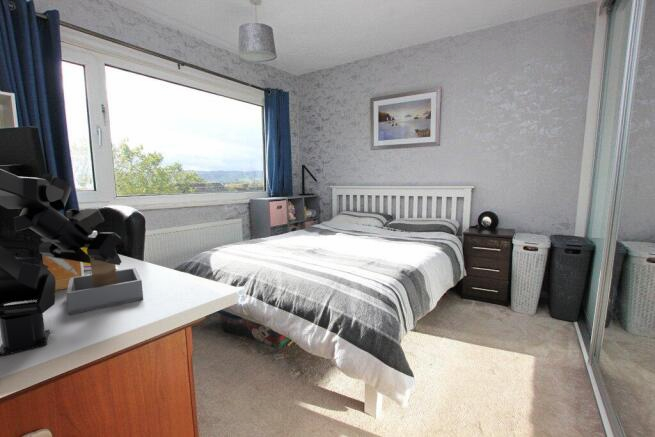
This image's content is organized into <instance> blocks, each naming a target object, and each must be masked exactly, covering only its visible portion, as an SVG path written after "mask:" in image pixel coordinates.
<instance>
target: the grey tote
mask: <svg viewBox="0 0 655 437" xmlns="http://www.w3.org/2000/svg"><path fill="white" fill-rule="evenodd" d="M116 276H117V284H112V285H107V286H101V287H95V288H93V279H92V274H87V275H85V274H84V276H79V277H72V278H70V280H69V284H68V288H66V294H65V295H66V302H67V308H68V315H75V314H80V313H84V312H88V311H94V310H99V309H105V308H108V307H109V308H110V307H113V306H118V305H123V304H128V303H133V302H137V301H142V300H144V291H143V281H142V279H141V277H140V274H139V272H138V270H137V269H136V267H131V268H124V269H118V270H117V271H116Z"/></svg>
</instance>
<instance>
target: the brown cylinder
mask: <svg viewBox="0 0 655 437" xmlns="http://www.w3.org/2000/svg"><path fill="white" fill-rule="evenodd" d="M94 259H95V258H92V257H90V262H91V270H90V271H91V275H92V279H93V288H95V287H101V286H107V285H112V284H117V276H116V267H117V266H116V265H115V264H111V263H106V262H102V261H97V260H94Z"/></svg>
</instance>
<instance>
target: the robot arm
mask: <svg viewBox="0 0 655 437" xmlns="http://www.w3.org/2000/svg"><path fill="white" fill-rule="evenodd" d="M71 191H72V185H71V184H70V183H68V182H67V181H66V180H64V179H61V178H59V177H56V175H55V174H54V173H43V174H42V175H41V177H32V176H31V177H30V176H29V177H28V176H18V175H16V174H13V173H11V172H9V171H6V170H4V169H1V168H0V206H1V207H3V208H5V209H7V210H13V209H14V210H15V209H18V210H20V209H22V210H21V212H20V214H19V215H18V216H15V217H13V220H14V229H15V230H14V231H16V232H20V231H23V230H26V229H27V230H28V229H30V230H32V231H34V232H35V233H36V234H38V235H39V236H41V237H40V240H41V241H42V242H41V244H39V246H38V251H39V254H41V255H42V254H43V255H44V256H47V257H52V258H59V259H65V260H71V261H78V262H84V263H91V262H90V257H92V258H95V259H94V260H97V261H102V262H106V263H111V264H115V266H120V265H121V264H122V259H121V257H120V255H119V254H118V252H117V248H116V247H117V246H118V245H119V243H120V241H121V239H122V238H121V236H120V235H118V234H117V233H116V232H110V231H109V232H105V231H104V232H97V236H96V237H95V238H91V237H88V236H89V235H91V234H92V233H93V231H94V230H93V229H94V228H95V227H96V226H98V225H99V224H100V223H103V222H105V218H104V217H103V215H102V213H101V211H100V210H99V209H98V208H84V209H80V210H79V209H76V208H71V209H68V210H66V211H65V215H64V214H62V213H61V212H60V211H63V210H65V207H66V204H67V202H68V199H69V196H70V194H71ZM82 247H84V248H87V254H86V253H85V252H84V251H83V250H82V249H81V248H82ZM89 256H90V257H89ZM55 285H56V281H55V277H54V275H53V274H52V273H51V272H50V271H49V270H48V266H46V265H44V264H43V260H42V259H40V258H38V257H23V258H17V257H16V256H14V255H13V254H12V253H11V252H10V251H8V249H6V248H5V247H3V245H1V244H0V337H1V344H0V357H1V356H6V355H10V354H15V353H17V352H23V351H27V350H31V349H34V348H38V347H43V346H45V345H48V340H49V338H50V334H51V330H50V329H46V330H45V321H44V315H43V313H45V312H46V311H48V310H49V309H51V307H53V306H54V305H55V303H56V302H55V301H56V299H55V298H56V290H55ZM31 301H32V302H31ZM23 302H24V303H23ZM13 303H14V304H13Z"/></svg>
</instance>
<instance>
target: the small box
mask: <svg viewBox="0 0 655 437" xmlns="http://www.w3.org/2000/svg"><path fill="white" fill-rule="evenodd" d="M81 249H82V248H81ZM41 255H42V262H43V264H44V265H46V266H48V270H49V271H50V272H51V273H52V274H53V275H54V277H55V281H56V285H55V291H58V290H64V289H65V290H67V289H68V284H69V280H70V278H72V277H79V276H85V270H84V267H83V262H78V261H71V260H65V259H59V258H52V257H47V256H44V255H43V254H41Z"/></svg>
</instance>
